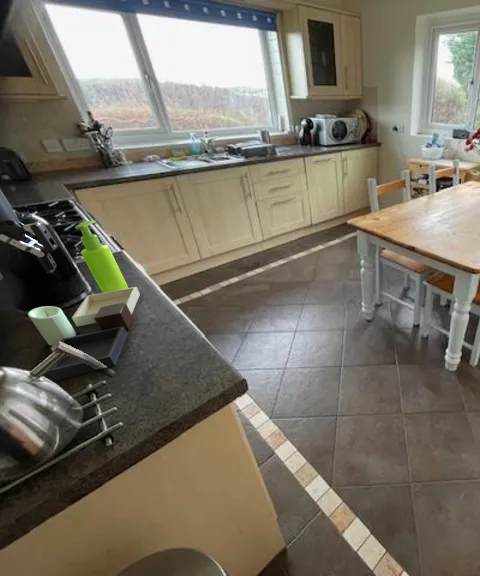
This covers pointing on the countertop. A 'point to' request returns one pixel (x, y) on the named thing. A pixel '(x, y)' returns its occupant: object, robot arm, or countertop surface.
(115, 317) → the walnut block
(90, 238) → the soap dispenser
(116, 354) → the charcoal tray
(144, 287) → the countertop surface
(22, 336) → the countertop surface
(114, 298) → the cream tray
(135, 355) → the countertop surface
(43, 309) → the candle
